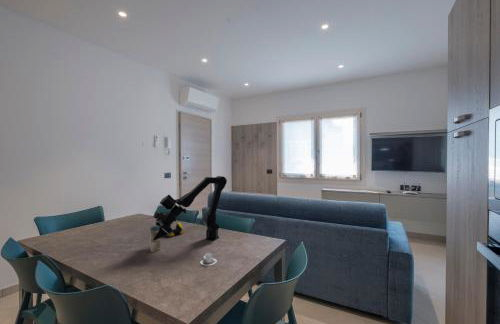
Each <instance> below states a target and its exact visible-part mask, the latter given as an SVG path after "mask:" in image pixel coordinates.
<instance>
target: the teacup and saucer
mask: <svg viewBox="0 0 500 324" xmlns="http://www.w3.org/2000/svg"><path fill="white" fill-rule="evenodd" d="M212 260H213V261H214V262H213V263H211V262H212ZM204 261H206V263H208V264H204V263H203V262H204ZM217 262H218V260H217V259H216V258H213V253H211V252H207V253H205V255H203V257H202V259H201V260H200V265H202V266H205V267H206V266H208V267H209V266H213V265H216V264H217ZM210 263H211V264H210Z"/></svg>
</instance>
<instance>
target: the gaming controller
mask: <svg viewBox="0 0 500 324" xmlns="http://www.w3.org/2000/svg"><path fill="white" fill-rule="evenodd" d="M184 230H185V229H184V227H183V225H182V224H181V223H180V222H178V223H176V226H175V228H174V229H173V228H172V232H171V233H170V234H169V233H168V234H167V235H165V236H167V237H169V238H170V237H176V236H178V235H181V234H183V233H184Z"/></svg>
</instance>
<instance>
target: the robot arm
mask: <svg viewBox="0 0 500 324" xmlns="http://www.w3.org/2000/svg"><path fill="white" fill-rule="evenodd" d="M227 181H228V180H227V178H226V177H225V176H221V175H217V176H216V177H213V176H206V177H204V179H202V180H201V181H200V183H198V184H197V185H196V186H195V187H194V188H192V190H190V191H189V192H188V193H185V194H184V195H181V197H180V198H177V199H174V198H173V197H172V196H171V195H170V194H167V195H166V196H165V197H163V198H162V199H161V200H160V202H159V204H160V205H161V206H162V207H164V209H166V210H169V211H167V212H165V213H164V212H162V211H157V210H155V212H154V214H153V218H154V219H155V220H156V221H155V226H157V225H159V231H158V233H157V234H156V236H155V237H154V239H153V240H154V241H155V240H157V239H159V238H160V239H161V238H163V237H165V236H166V235H167V234H168V233H169V234H170V233H171V232H172V230H173V228H172V225H173V223H174V222H177V218H178V217H179V216H180V215H182V213H184V214H187V208H189V207H191V205H192V204H193V203H194V201H195V198H196V197H197V196H198V195H200V193H202V191H203V190H205V188H206V187H208V186H209V185H210V184H213V187H214V188H213V189H214V190H213V194H212V197H211V200H210V204H209V208H208V211H207V213H204V214H203V218H202V220H203V221H202V222H203V224H204V226H206V231H205V235H206V236H205V237H206V238H205V240H208V241H216V240H217V239H219V238H220V235H219V229H220V225H219V224H217V222H216V221H217V210H218V206H219V203H220V199H221V195H222V192H223V190H224V189H225V188H226V185H227V183H228V182H227Z"/></svg>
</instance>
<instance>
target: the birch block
mask: <svg viewBox="0 0 500 324" xmlns="http://www.w3.org/2000/svg"><path fill="white" fill-rule="evenodd" d="M158 231H159V225H157V226H156V225H150V226H149V250H150V252H151V253H152V252H157V251H161V238H159V239H157V240H155V241H154V240H153V239H154V237H155V236H156V234H157V233H158Z"/></svg>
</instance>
